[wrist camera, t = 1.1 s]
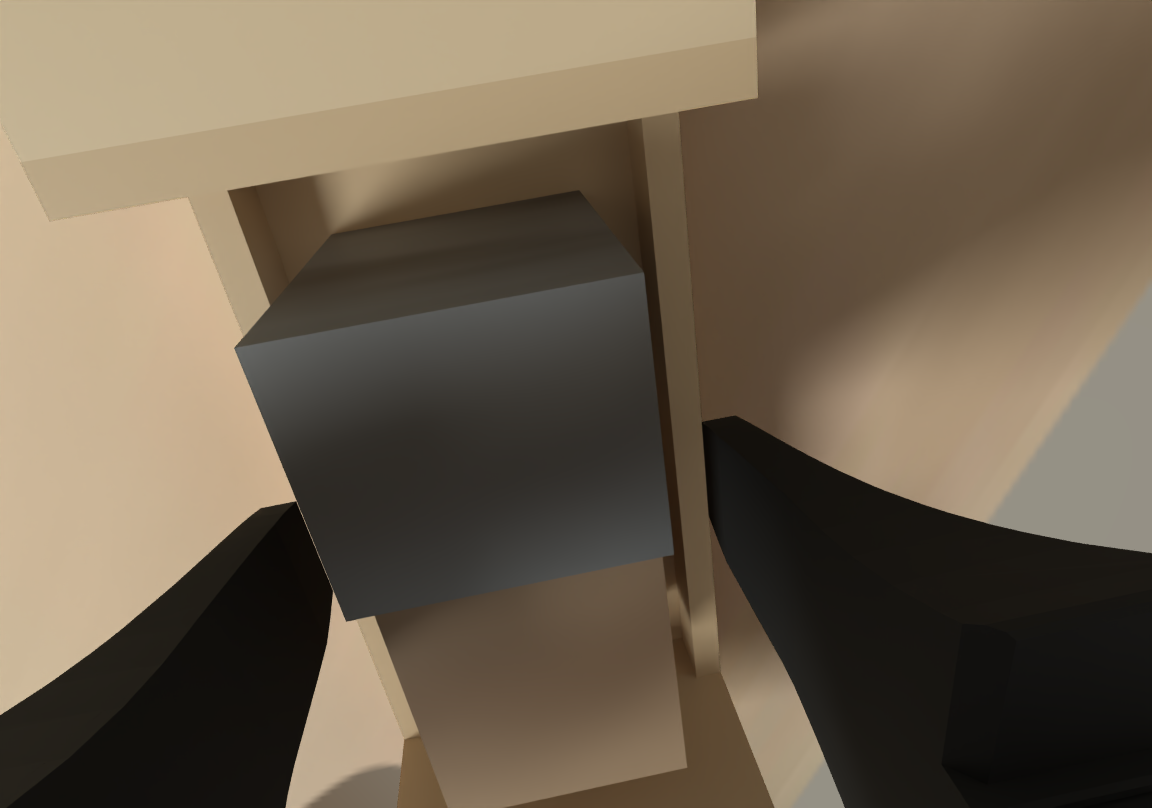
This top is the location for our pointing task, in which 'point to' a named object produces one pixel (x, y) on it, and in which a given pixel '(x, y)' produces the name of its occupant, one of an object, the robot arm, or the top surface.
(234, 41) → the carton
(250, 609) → the robot arm
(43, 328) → the top surface
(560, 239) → the box
